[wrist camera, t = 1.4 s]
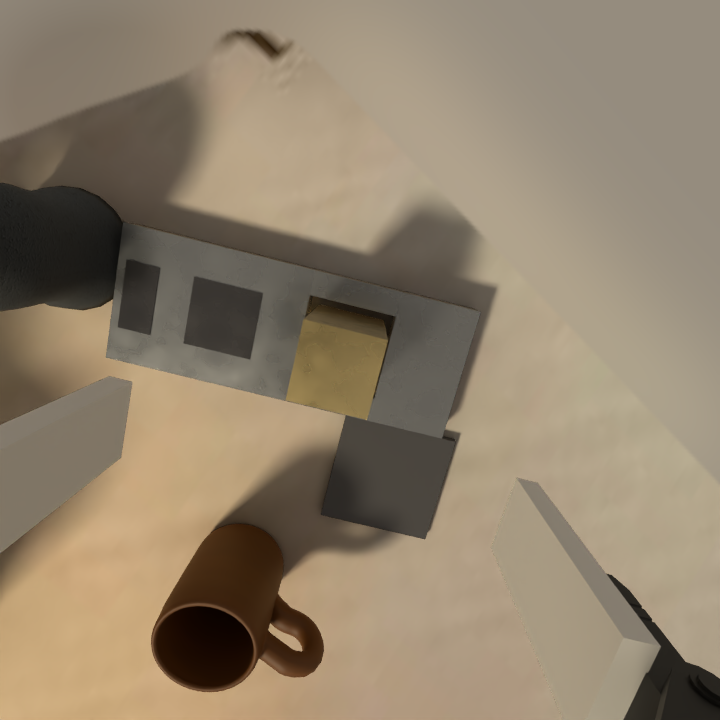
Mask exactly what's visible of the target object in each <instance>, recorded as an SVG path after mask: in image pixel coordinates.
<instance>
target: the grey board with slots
mask: <svg viewBox="0 0 720 720" xmlns="http://www.w3.org/2000/svg"><path fill="white" fill-rule="evenodd" d="M312 296H316V297H320V298H324V299H328V300H332V301H336V302H340V303H344V304H348V305H352V306H356V307H360V308H364V309H368V310H372V311H376V312H380V313H384V314H388V315H392V316H394V318H393V322H392V325H391V329H390V333H389V337H388V343H387V346H386V350H385V354H384V358H383V362H382V365H381V369H380V373H379V377H378V380H377V384H376V388H375V392H374V395H373V399H372V403H371V407H370V411H369V414H368V418H367V421H371V422H375V423H379V424H383V425H388V426H392V427H396V428H400V429H404V430H408V431H412V432H417V433H421V434H425V435H429V436H433V437H437V438H441V439H442V437H443V434H444V431H445V427H446V424H447V421H448V417H449V414H450V411H451V408H452V404H453V401H454V398H455V395H456V391H457V388H458V385H459V382H460V378H461V375H462V372H463V368H464V365H465V362H466V359H467V355H468V352H469V349H470V346H471V342H472V339H473V336H474V333H475V329H476V326H477V323H478V319H479V316H480V313H481V312H480V311H478V310H476V309H473V308H469V307H465V306H461V305H457V304H453V303H449V302H445V301H441V300H437V299H433V298H429V297H425V296H421V295H417V294H413V293H409V292H405V291H401V290H397V289H393V288H389V287H385V286H381V285H377V284H373V283H369V282H365V281H362V280H358V279H354V278H350V277H346V276H342V275H338V274H334V273H330V272H326V271H322V270H318V269H314V268H310V267H306V266H302V265H298V264H294V263H290V262H286V261H282V260H278V259H274V258H270V257H266V256H262V255H258V254H254V253H250V252H246V251H242V250H238V249H234V248H230V247H226V246H222V245H218V244H214V243H211V242H207V241H203V240H199V239H195V238H191V237H187V236H183V235H179V234H175V233H171V232H167V231H163V230H159V229H155V228H151V227H147V226H143V225H139V224H134V223H127V222H123V227H122V235H121V243H120V251H119V258H118V266H117V274H116V282H115V290H114V298H113V306H112V314H111V321H110V329H109V337H108V345H107V353H106V358H110V359H114V360H118V361H123V362H127V363H131V364H135V365H139V366H143V367H147V368H152V369H156V370H160V371H164V372H168V373H172V374H176V375H180V376H185V377H189V378H193V379H197V380H201V381H205V382H209V383H214V384H218V385H222V386H226V387H230V388H234V389H238V390H243V391H247V392H251V393H255V394H259V395H263V396H267V397H272V398H276V399H280V400H284V401H286V396H287V392H288V387H289V382H290V378H291V373H292V369H293V364H294V360H295V355H296V351H297V346H298V342H299V337H300V333H301V328H302V324H303V319H304V318H305V317H306V316H308V314H309V310H310V305H311V301H312ZM288 402H290V401H288ZM292 403H295V402H292ZM296 404H299V403H296ZM301 405H303V404H301ZM305 406H307V405H305ZM309 407H311V406H309ZM313 408H315V407H313ZM317 409H319V408H317ZM321 410H324V409H321ZM325 411H328V410H325ZM330 412H332V411H330ZM334 413H336V412H334ZM338 414H340V413H338ZM342 415H344V414H342ZM346 416H348V415H346ZM350 417H352V416H350ZM354 418H357V417H354ZM359 419H361V418H359ZM363 420H365V419H363Z"/></svg>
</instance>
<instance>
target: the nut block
mask: <svg viewBox="0 0 720 720" xmlns="http://www.w3.org/2000/svg"><path fill="white" fill-rule="evenodd" d="M387 343H388V337H387V333H386V329H385V324H384V320H382V319H378V318H374V317H370V316H366V315H362V314H358V313H353V312H349V311H345V310H341V309H337V308H333V307H329V306H325V305H321V304H320V305H319V306H318V307H317V308H315V309H314V310H313V311H312V312H311V313H310V314H309V315H308V316H306V317H305V318H304V319H303V324H302V328H301V333H300V337H299V342H298V346H297V351H296V355H295V360H294V364H293V369H292V373H291V378H290V382H289V387H288V392H287V396H286V401H290V402H295V403H299V404H303V405H307V406H311V407H315V408H319V409H324V410H328V411H332V412H336V413H340V414H344V415H348V416H352V417H357V418H361V419H365V420H367V418H368V414H369V411H370V407H371V403H372V399H373V395H374V392H375V388H376V384H377V380H378V377H379V373H380V369H381V365H382V362H383V358H384V354H385V350H386V346H387Z"/></svg>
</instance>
